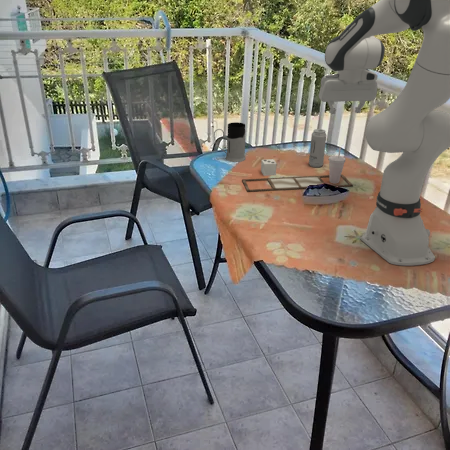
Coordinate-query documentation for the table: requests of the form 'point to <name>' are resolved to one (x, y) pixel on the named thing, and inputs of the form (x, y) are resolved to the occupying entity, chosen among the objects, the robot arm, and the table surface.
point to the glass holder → (235, 142)
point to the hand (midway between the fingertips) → (345, 113)
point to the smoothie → (335, 167)
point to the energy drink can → (317, 148)
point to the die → (268, 167)
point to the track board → (292, 183)
